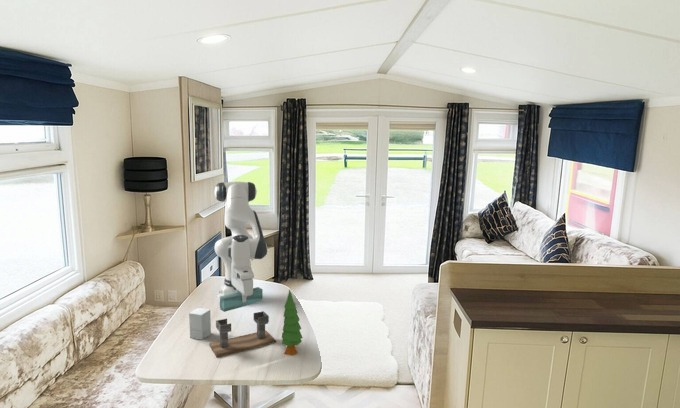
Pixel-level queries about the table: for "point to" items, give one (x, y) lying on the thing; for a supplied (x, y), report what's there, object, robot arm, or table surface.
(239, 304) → the teal rail
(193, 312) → the supplement box
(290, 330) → the decorative tree
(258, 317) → the bracket stand
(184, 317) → the table surface
